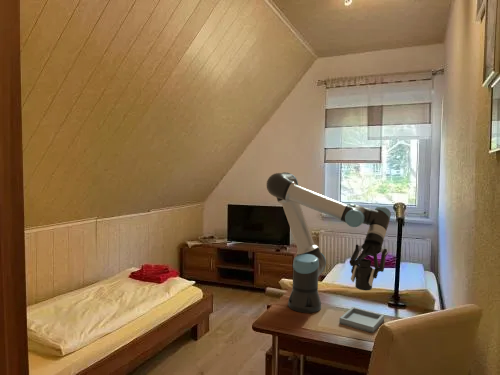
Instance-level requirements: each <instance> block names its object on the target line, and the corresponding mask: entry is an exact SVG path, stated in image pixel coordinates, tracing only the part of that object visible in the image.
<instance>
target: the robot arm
mask: <svg viewBox="0 0 500 375" xmlns="http://www.w3.org/2000/svg"><path fill="white" fill-rule="evenodd" d="M266 190H267V192H268V193H269V194H270V195H271V196H273V197H275V198H276V201H277V203H278V204H281V205H282V207H283V211H284V215H285V216H286V219H287V222H288V225H289V228H290V231H291V235H292V236H293V239H294V243H295V246H296V247H297V252H296V253H295V257H294V258H293V261H292V262H293V263H292V290H291V291H290V295H289V298H288V302H287V304H288V307H289V309H291V310H292V311H295V312H298V313H304V314H305V313H306V314H309V313H310V314H311V313H316V312H319V311H321V309H322V302H321V299H320V298H321V297H320V295H319V276H320V275H321V274H323V272H324V271H325V268H326V266H327V260H326V257H325V255H324V254H323V253H322V252H321V249H320V247H319V246H318V245H317V244H315V242H314V239H313V237H312V234H311V231H310V228H309V226H308V223H307V219H306V217H305V215H304V214H305V213H304V212H303V209H302V206H304V207H306V208H309V209H311V210H314V211H317V212H318V213H319V212H320V213H322V214H324V215H327V216H329V217H332V218H334V219H336V220H338V221H340V222H343V223H346V225H348V226H349V227H351V228H357V227H360V226H362V225H363V224H364V225H367V226H368V229H367V232H366V236H365V239H364V242H363V244H362V245H359V244H355V249H354V251H353V254H351V255H352V256H351V257H350V260H349V261H348V262H349V265H350V266H351V267H352V268H351V271H350V273H351V277H350V280H351V282H352V283H355V282H356V267H357V266H358V265H359V259H366V258H367V256H370V257H373V265H374V268H373V269H372V272H371V276H370V279H369V285H370V286H372V287H373V282H374V279H377V277H378V274H379V272H381V273H384V270H385V264H386V258H387V255H388V254H389V253H388V249H387V248H382V247H383V245H384V240H385V238H386V234H387V230H388V227H389V224H390V220H391V217H392V212H391V210H390V209H389V208H387V207H385V206H377V207H375V209H373V208H369V207H365V206H361V205H358V204H355V203H348V204H346V203H343V202H342V201H338V200H335V199H333V198H330V197H327V196H325V195H322V194H320V193H317V192H315V191H313V190H310V189H308V188H305V187H302V186H300V185H299V182H298V179H297V177H296V176H295V175H294V174H292V173H289V172H276V173H273V174H271V175H270V176H269V177H268V179H267V181H266ZM361 250H362V251H361ZM360 252H361V253H360ZM380 253H381V256H380V257H381V258H380V263H379V262H378V255H379V254H380Z"/></svg>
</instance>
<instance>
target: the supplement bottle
mask: <svg viewBox="0 0 500 375" xmlns="http://www.w3.org/2000/svg"><path fill="white" fill-rule="evenodd" d="M371 265H372V260H371V259H368V258H367V259H366V258H364V259H359V265H358V266H357V267H356V277H355V281H354V283H355V289H357V290H361V291H371V290H372V289H373V285H372V286H370V285H369V279H370V276H371V272H372V269H374V268H373V267H372V266H371Z"/></svg>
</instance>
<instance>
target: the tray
mask: <svg viewBox="0 0 500 375" xmlns="http://www.w3.org/2000/svg"><path fill="white" fill-rule="evenodd" d="M384 321H385V314H381V313H379V312H378V313H377V312H375V311H370V310H366V309H362V308H359V307H354V306H351V308H350V309H348V310H347V311H346V312H345V313H343V314H342V315H341V316H340V317H339V321H338V322H339V324H341V325H344V326H347V327H349V328H354V329H357V330H361V331H364V332H367V333H371V334H374V333H375V331H376V330H377V329H378V328H379V327H380V326H381V325H382V323H384Z"/></svg>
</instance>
